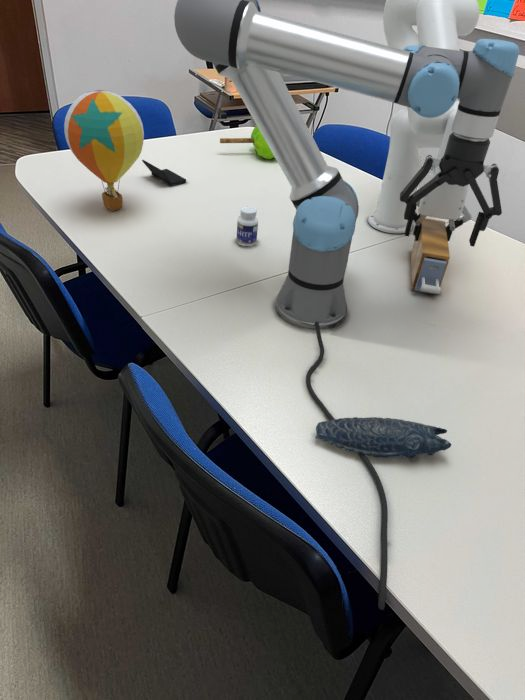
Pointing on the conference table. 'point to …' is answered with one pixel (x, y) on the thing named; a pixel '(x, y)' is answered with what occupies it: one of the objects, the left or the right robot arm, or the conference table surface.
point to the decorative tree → (257, 141)
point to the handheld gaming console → (165, 175)
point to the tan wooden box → (429, 247)
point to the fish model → (382, 436)
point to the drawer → (430, 275)
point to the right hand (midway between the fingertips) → (430, 240)
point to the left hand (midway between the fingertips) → (438, 238)
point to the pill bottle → (247, 227)
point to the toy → (105, 138)
